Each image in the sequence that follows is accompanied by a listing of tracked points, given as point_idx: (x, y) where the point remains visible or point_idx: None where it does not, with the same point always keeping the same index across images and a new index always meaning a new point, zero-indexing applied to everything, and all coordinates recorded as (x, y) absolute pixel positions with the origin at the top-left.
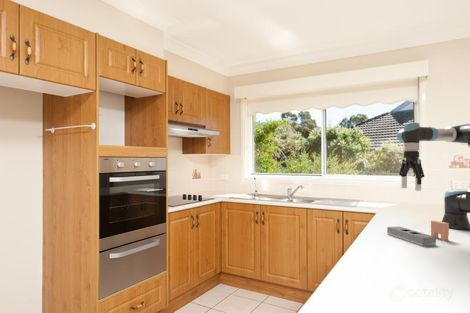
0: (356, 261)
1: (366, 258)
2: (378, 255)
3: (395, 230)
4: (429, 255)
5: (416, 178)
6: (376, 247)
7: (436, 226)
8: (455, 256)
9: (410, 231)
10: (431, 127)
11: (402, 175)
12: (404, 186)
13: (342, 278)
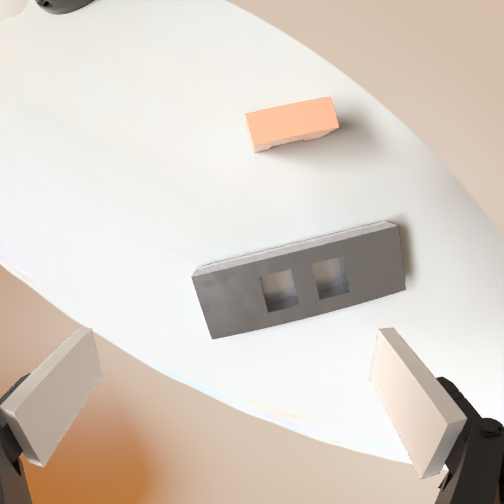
0: None
1: None
2: None
3: (263, 326)
4: (464, 307)
5: (439, 469)
6: (382, 412)
7: (288, 139)
8: (479, 238)
9: (300, 280)
10: None
11: (21, 468)
12: (88, 363)
13: None
